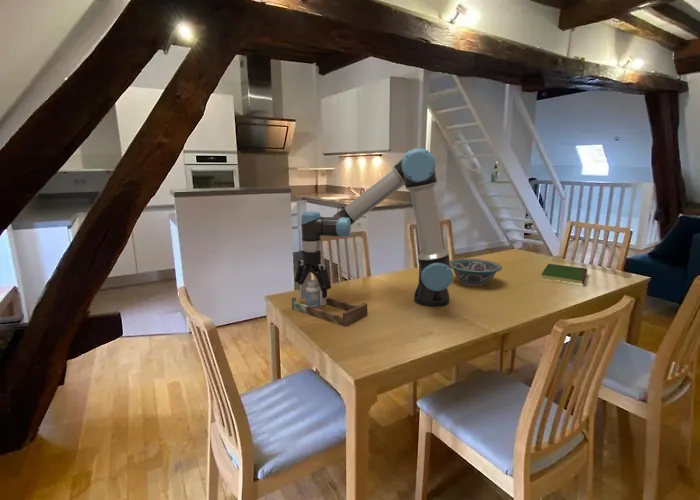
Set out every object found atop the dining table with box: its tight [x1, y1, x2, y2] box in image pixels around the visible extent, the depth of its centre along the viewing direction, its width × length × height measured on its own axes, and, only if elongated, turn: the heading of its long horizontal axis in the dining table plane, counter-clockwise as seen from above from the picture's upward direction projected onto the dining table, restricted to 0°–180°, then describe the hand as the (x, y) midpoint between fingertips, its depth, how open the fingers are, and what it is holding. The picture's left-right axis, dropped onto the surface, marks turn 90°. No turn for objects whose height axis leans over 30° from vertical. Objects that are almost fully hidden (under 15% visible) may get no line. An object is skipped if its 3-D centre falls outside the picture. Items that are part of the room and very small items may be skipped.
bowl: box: [449, 258, 503, 287], centre depth 195 cm, size 25×25×10 cm
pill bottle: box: [305, 279, 322, 309], centre depth 164 cm, size 6×6×11 cm
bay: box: [291, 285, 368, 327], centre depth 161 cm, size 30×18×7 cm, turn 52°
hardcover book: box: [540, 263, 588, 285], centre depth 205 cm, size 25×19×4 cm
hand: (312, 301), depth 165 cm, fingers open, 11 cm apart
